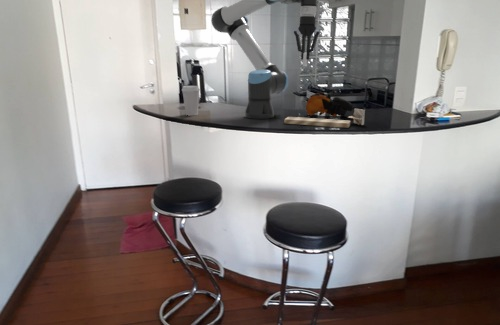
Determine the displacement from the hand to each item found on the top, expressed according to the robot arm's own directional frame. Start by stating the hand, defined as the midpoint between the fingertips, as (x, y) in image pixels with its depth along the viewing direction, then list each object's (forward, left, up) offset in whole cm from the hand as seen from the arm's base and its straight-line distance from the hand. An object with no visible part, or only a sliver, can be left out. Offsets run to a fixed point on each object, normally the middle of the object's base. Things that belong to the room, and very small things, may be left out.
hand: (304, 66), depth 193 cm
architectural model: (+29, -10, -26) cm, 40 cm away
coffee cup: (-57, -15, -26) cm, 64 cm away
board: (+11, -17, -26) cm, 33 cm away
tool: (+12, +6, -26) cm, 29 cm away
